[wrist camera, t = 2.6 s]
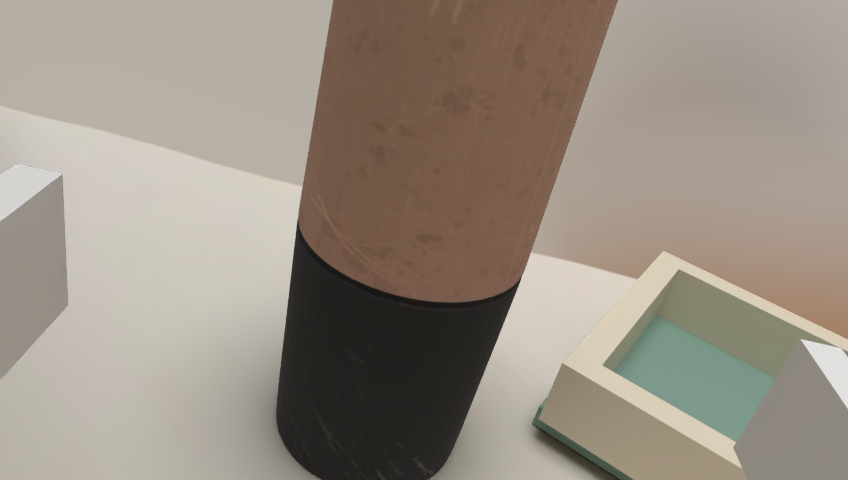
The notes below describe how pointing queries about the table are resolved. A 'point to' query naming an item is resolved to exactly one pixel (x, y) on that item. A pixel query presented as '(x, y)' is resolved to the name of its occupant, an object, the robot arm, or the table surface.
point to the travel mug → (421, 217)
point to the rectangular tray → (673, 375)
